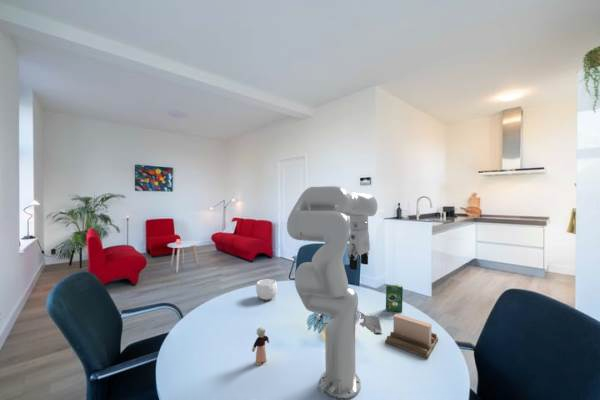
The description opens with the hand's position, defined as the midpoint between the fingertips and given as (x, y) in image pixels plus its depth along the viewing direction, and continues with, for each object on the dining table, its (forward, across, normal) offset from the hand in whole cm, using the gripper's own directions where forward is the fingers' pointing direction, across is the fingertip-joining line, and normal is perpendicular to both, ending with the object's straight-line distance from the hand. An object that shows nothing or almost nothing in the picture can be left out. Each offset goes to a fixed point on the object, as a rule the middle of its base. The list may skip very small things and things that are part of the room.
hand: (359, 266), depth 108 cm
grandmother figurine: (+31, -37, +20) cm, 52 cm away
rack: (+30, +11, -18) cm, 37 cm away
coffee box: (+31, +34, -2) cm, 46 cm away
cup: (+31, +2, +61) cm, 68 cm away
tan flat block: (+29, +11, -18) cm, 36 cm away
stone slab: (+31, +14, +2) cm, 34 cm away
